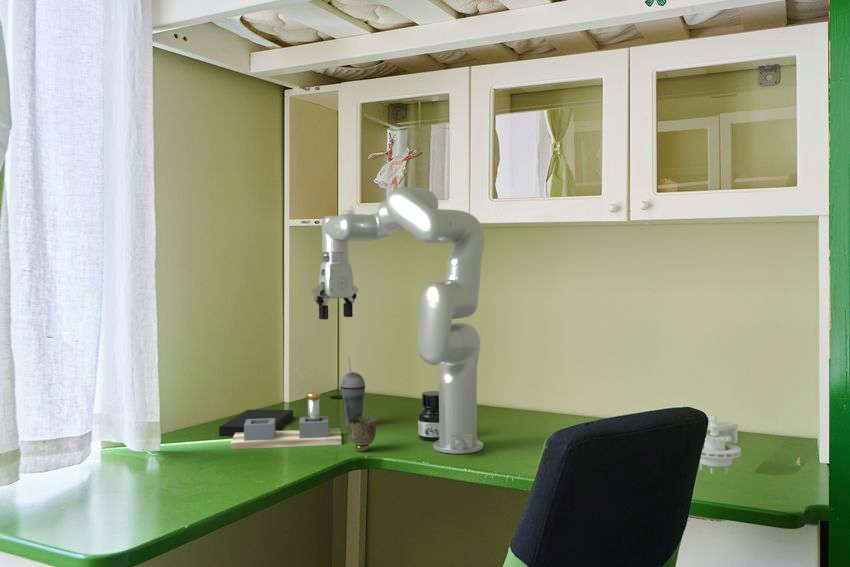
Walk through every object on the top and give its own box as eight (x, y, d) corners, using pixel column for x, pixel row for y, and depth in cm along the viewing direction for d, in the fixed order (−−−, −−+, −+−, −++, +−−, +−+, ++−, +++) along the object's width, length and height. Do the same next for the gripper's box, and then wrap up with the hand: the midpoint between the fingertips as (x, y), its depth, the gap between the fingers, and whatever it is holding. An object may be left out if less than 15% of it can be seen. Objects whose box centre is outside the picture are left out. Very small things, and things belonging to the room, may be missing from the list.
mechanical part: (701, 478, 166) (701, 423, 166) (678, 463, 178) (679, 412, 178) (751, 476, 167) (751, 422, 166) (726, 461, 179) (726, 411, 178)
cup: (372, 454, 188) (372, 422, 188) (343, 453, 189) (343, 421, 189) (380, 447, 195) (380, 416, 195) (352, 446, 197) (352, 415, 196)
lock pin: (321, 435, 202) (320, 394, 201) (306, 436, 201) (306, 394, 201) (321, 432, 206) (320, 391, 205) (306, 433, 205) (306, 392, 205)
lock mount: (328, 437, 200) (328, 422, 200) (299, 438, 199) (299, 423, 199) (328, 430, 208) (327, 416, 207) (300, 431, 207) (299, 417, 206)
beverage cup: (364, 429, 215) (363, 358, 214) (338, 429, 215) (337, 358, 215) (367, 424, 222) (366, 355, 222) (342, 424, 223) (341, 355, 222)
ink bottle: (412, 440, 202) (412, 395, 202) (422, 433, 211) (422, 389, 210) (448, 442, 199) (448, 397, 199) (457, 435, 208) (456, 391, 207)
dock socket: (273, 439, 198) (273, 424, 198) (244, 440, 197) (243, 425, 197) (275, 432, 206) (275, 418, 206) (246, 434, 205) (246, 419, 204)
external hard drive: (219, 437, 209) (219, 426, 209) (247, 419, 232) (247, 409, 232) (270, 438, 208) (270, 427, 208) (293, 419, 231) (293, 410, 231)
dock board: (341, 444, 198) (341, 438, 198) (230, 449, 195) (230, 443, 195) (340, 433, 210) (339, 428, 210) (235, 438, 206) (235, 432, 206)
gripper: (322, 259, 212) (322, 320, 213) (365, 258, 225) (366, 316, 226) (303, 259, 217) (304, 319, 217) (347, 258, 230) (348, 315, 231)
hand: (336, 318), depth 222 cm, fingers open, 9 cm apart
